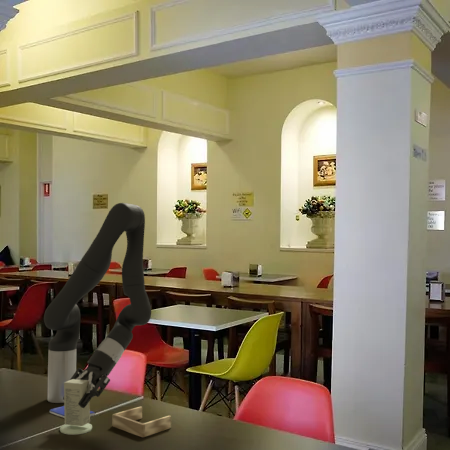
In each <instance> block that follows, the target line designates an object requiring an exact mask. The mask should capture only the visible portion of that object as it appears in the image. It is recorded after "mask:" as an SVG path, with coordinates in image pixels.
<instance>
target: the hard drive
mask: <svg viewBox="0 0 450 450" xmlns="http://www.w3.org/2000/svg"><path fill="white" fill-rule="evenodd" d="M49 413H50V414H52V415H55V416H57V417H60V418H64V419H65V416H64V405H63V406H58V407H54V408H51V409H49ZM95 415H96V411H95V412H94V411H92V410H90V417H92V416H95Z"/></svg>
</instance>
